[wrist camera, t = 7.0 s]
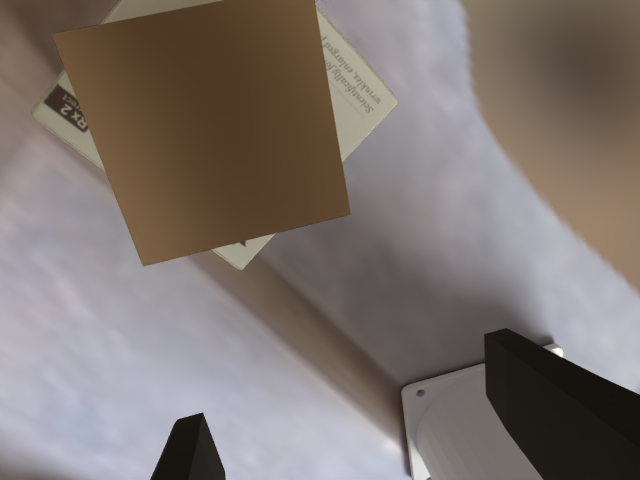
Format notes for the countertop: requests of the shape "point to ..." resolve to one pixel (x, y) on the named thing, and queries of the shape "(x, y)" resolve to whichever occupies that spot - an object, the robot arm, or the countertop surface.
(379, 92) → the small box
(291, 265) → the countertop surface
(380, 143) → the countertop surface
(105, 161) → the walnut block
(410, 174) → the countertop surface
